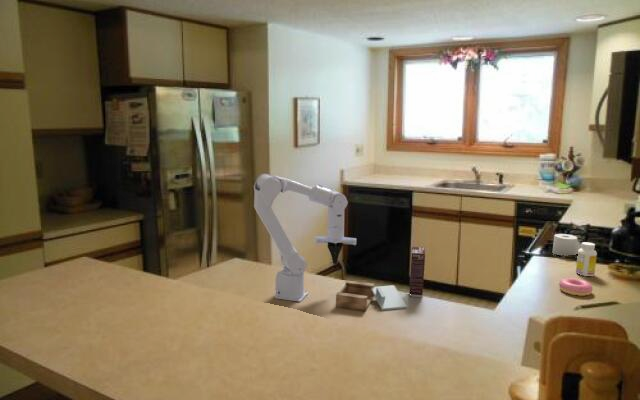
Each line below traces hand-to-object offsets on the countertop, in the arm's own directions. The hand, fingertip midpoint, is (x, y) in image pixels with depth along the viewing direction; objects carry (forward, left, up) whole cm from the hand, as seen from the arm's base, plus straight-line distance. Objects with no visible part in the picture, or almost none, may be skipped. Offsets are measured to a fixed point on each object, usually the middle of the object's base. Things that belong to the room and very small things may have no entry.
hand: (335, 263), depth 172 cm
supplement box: (+28, +8, -11) cm, 31 cm away
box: (+10, -7, -10) cm, 16 cm away
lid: (+20, -4, -9) cm, 22 cm away
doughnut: (+83, +29, -11) cm, 88 cm away
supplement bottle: (+90, +51, -11) cm, 104 cm away
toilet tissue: (+88, +78, -11) cm, 118 cm away
